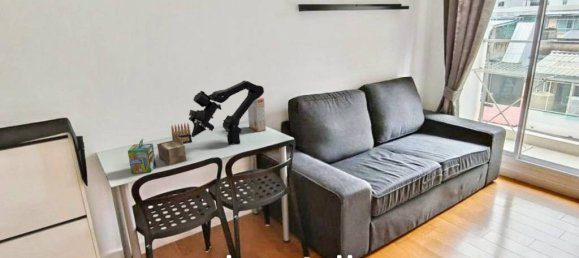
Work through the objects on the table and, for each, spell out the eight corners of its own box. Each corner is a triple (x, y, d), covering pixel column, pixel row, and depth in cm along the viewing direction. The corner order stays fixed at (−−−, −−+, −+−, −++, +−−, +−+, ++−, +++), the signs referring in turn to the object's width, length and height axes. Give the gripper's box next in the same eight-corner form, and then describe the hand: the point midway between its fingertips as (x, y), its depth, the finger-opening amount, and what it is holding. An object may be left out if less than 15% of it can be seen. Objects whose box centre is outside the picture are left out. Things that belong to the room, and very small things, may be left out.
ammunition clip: (173, 145, 197) (170, 125, 194) (172, 144, 199) (170, 124, 195) (192, 142, 201) (189, 122, 198) (191, 141, 203) (189, 121, 199)
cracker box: (266, 130, 218) (264, 98, 213) (257, 132, 216) (255, 99, 210) (257, 125, 230) (255, 94, 224) (248, 127, 227) (246, 96, 221)
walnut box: (176, 154, 183) (174, 139, 180) (186, 160, 173) (184, 145, 171) (159, 158, 177) (157, 144, 175) (169, 165, 168) (166, 150, 165)
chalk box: (137, 166, 168) (132, 137, 164) (156, 165, 169) (152, 136, 165) (130, 174, 160) (125, 143, 155) (151, 172, 160) (146, 142, 156)
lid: (175, 141, 180) (174, 134, 179) (184, 146, 172) (183, 138, 171) (160, 145, 175) (159, 137, 174) (168, 150, 167) (167, 142, 166)
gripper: (189, 101, 185) (172, 125, 181) (205, 106, 171) (187, 132, 168) (204, 112, 192) (188, 136, 189) (221, 118, 178) (204, 143, 175)
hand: (192, 136), depth 180 cm, fingers closed
